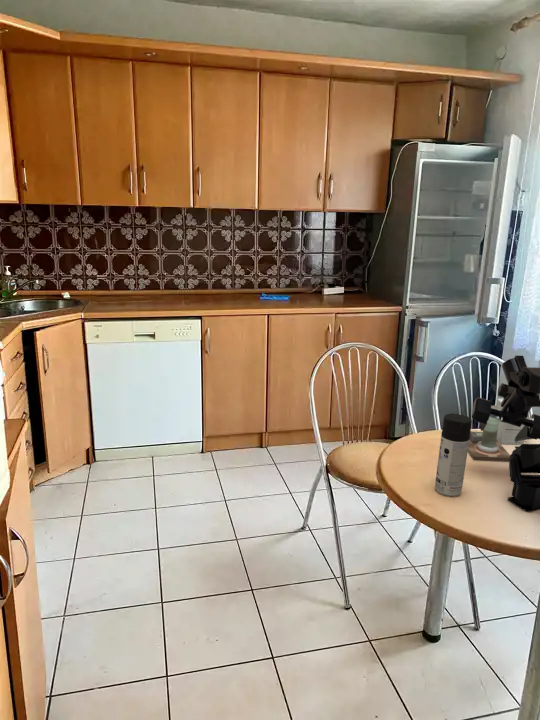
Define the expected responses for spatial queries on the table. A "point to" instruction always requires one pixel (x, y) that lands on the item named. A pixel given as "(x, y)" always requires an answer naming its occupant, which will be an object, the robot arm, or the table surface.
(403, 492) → the table surface
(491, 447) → the ring stacking peg
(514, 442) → the supplement box
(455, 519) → the table surface
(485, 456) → the digital kitchen scale
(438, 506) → the table surface
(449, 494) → the spray can
